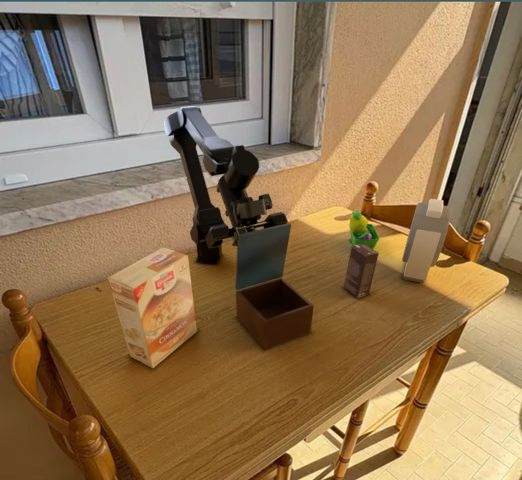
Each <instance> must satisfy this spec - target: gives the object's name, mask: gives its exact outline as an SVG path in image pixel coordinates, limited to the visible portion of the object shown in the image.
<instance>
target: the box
mask: <svg viewBox="0 0 522 480" xmlns="http://www.w3.org/2000/svg"><path fill="white" fill-rule="evenodd" d="M379 254H380V253H379V251H377V250H375V249H372V248H370V247H368V246H367V245H365V244H360V245H355V246H353V245H351V248H350V253H349V258H348V263H347V269H346V274H345V280H344V285H343V288H344V289H345V290H347V291H348V292H349V293H350V294H352V295H353V296H354V297H355V298H356V299H357V298H363V297H365V296H367V295H370V291H371V288H372V283H373V280H374V276H375V271H376V266H377V262H378V258H379Z"/></svg>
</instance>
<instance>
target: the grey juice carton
mask: <svg viewBox="0 0 522 480" xmlns="http://www.w3.org/2000/svg"><path fill="white" fill-rule="evenodd" d="M414 210H415V211H414V214H413V217H412V221H411V224H410V227H409V231H408V232H409V233H408V236H407V239H406V241H405V242H406V243H405V247H404V251H403V254H402V258H401V262H403V263H405V268H404V272H403V277H402V278H403V280H406V281H412V282H415V283H420V284H423V283H424V281H426V280H427V277H428V274H429V272H430V269H431V268H434V267H435V266H436V265H437V263H438V261H439V258H440V255H441V253H442V249H443V247H444V243H445V242H446V241H445V240H446V237H447V234H448V230H449V228H450V223H451V218H452V215H453V208H452V206H449V205H444V200H443V199H437V198H430V199H429V200H428V203H427V202H418V203H417V204H416V207H415V209H414Z"/></svg>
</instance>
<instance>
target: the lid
mask: <svg viewBox="0 0 522 480" xmlns="http://www.w3.org/2000/svg"><path fill="white" fill-rule="evenodd" d="M291 228H292V223H291V222H288V223H287V224H283V225H278V226H274V227H269V228H265V229H261V230H256V231H252V232H248V233H243V234H239V235H238V243H237V246H236V261H235V262H236V263H235V264H236V266H235V281H234V282H235V283H234V289H235V290H236V291H238V290H241V289H245V288H248V287H252V286H255V285H258V284H262V283H265V282H269V281H272V280H276V279H279V278H283V275H284V270H285V263H286V258H287V252H288V246H289V239H290V235H291V230H292V229H291Z"/></svg>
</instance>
